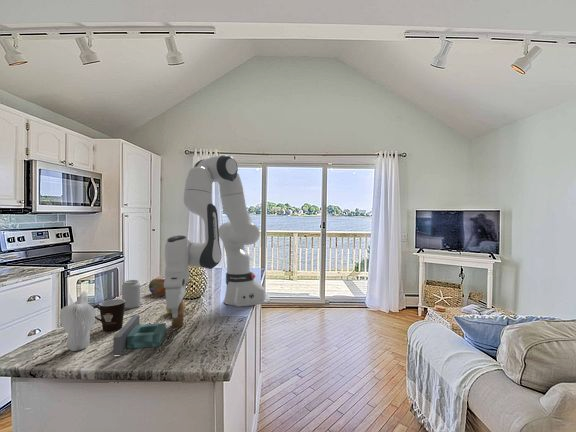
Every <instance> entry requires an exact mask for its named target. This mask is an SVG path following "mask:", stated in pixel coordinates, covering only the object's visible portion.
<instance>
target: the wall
mask: <svg viewBox="0 0 576 432" xmlns="http://www.w3.org/2000/svg"><path fill="white" fill-rule="evenodd" d="M136 325H140V314H135V315H132V316H131V318H130V319H129V320H128V321H127V322H126V323H125V324H124V325H122V328H121V329H120V330H118V332H117V333H116V334H115V335H114V336H113V342H112V343H113V344H112V345H113V356H114V355H121V354H122V353H123V354H124V353H125V351H126V350H127V336H128V334H129V333H130V332H131V331H132V330H133V328H134V327H135V326H136ZM125 349H126V350H125ZM124 350H125V351H124ZM123 354H122V355H123ZM122 355H121V356H122Z"/></svg>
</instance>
